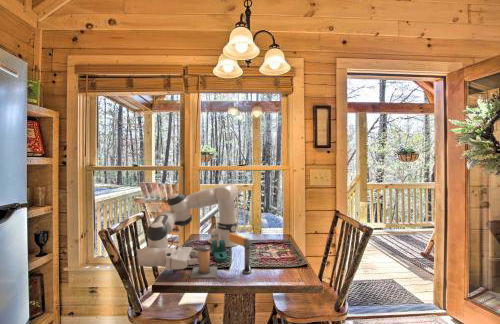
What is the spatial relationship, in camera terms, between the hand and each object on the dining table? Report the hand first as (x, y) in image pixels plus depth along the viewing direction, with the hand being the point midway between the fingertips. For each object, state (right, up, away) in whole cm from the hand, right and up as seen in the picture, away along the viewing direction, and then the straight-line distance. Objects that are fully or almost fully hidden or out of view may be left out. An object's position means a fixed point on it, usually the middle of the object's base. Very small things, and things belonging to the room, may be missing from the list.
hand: (199, 256), depth 138 cm
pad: (+2, -8, +1) cm, 9 cm away
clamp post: (+23, -8, +2) cm, 25 cm away
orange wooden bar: (+20, +4, +6) cm, 21 cm away
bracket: (+8, -8, +24) cm, 26 cm away
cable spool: (+2, -8, +1) cm, 8 cm away
